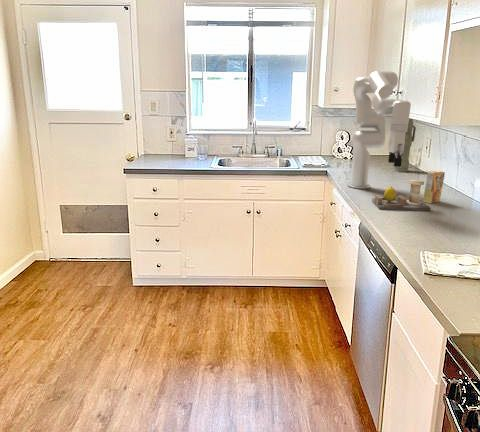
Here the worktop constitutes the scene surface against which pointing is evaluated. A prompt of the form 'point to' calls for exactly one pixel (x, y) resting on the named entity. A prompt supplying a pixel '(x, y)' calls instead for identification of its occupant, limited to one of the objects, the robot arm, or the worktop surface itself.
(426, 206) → the board
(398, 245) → the worktop surface
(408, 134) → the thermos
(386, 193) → the lemon
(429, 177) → the candy box
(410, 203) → the bobbin
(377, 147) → the robot arm
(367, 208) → the worktop surface
